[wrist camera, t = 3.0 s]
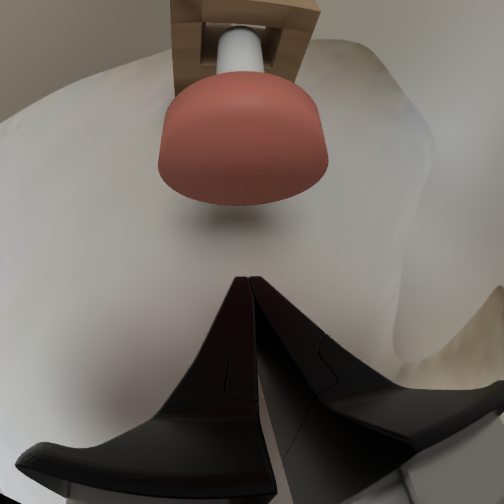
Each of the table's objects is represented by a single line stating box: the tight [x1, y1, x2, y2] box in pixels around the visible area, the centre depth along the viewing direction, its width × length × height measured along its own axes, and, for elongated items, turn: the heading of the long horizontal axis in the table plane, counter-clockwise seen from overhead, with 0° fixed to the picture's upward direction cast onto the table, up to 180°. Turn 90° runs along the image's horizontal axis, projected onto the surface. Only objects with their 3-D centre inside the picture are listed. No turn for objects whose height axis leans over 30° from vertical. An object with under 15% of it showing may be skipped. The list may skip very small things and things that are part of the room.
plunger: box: [158, 26, 328, 206], centre depth 11 cm, size 8×6×6 cm
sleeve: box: [170, 0, 321, 97], centre depth 15 cm, size 5×7×11 cm
